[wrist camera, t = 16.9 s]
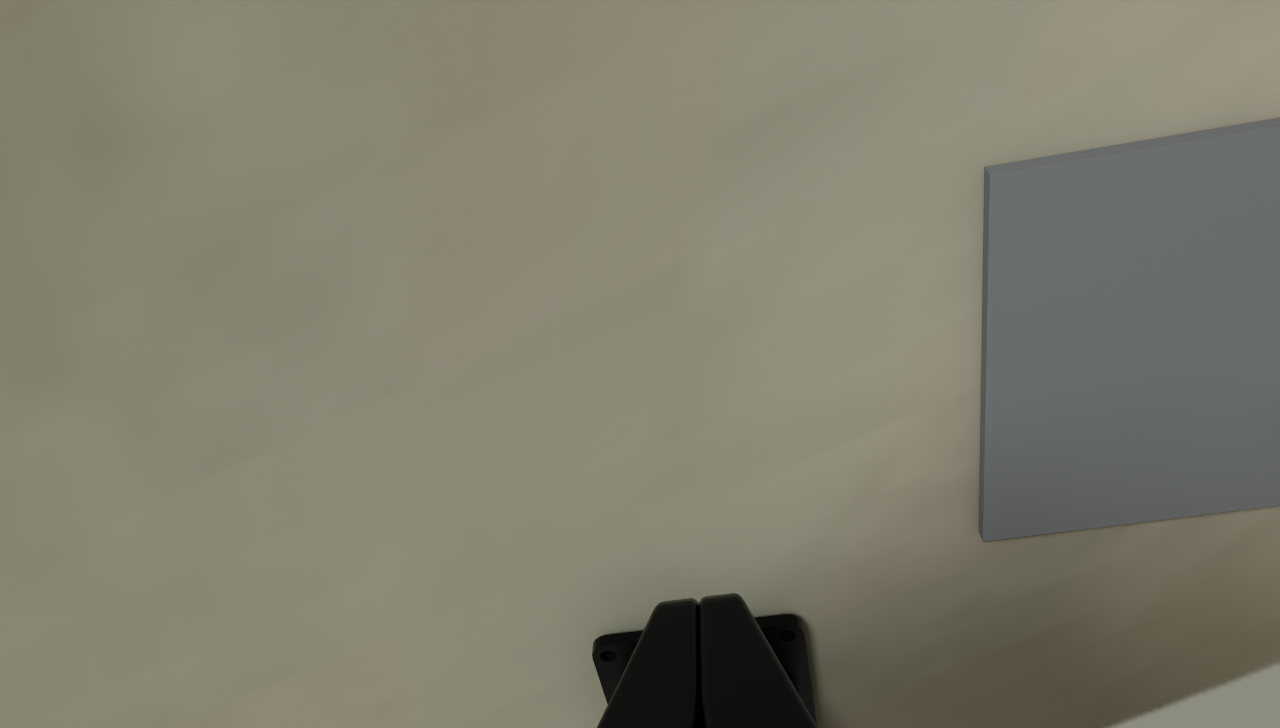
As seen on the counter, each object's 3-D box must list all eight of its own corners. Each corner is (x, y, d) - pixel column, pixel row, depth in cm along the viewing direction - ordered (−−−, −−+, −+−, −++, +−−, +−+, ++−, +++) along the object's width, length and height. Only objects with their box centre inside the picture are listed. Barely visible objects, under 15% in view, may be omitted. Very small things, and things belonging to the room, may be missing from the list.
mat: (1478, 470, 25) (1490, 479, 24) (978, 531, 26) (983, 541, 26) (1644, 56, 19) (1661, 62, 18) (984, 167, 20) (990, 174, 20)
